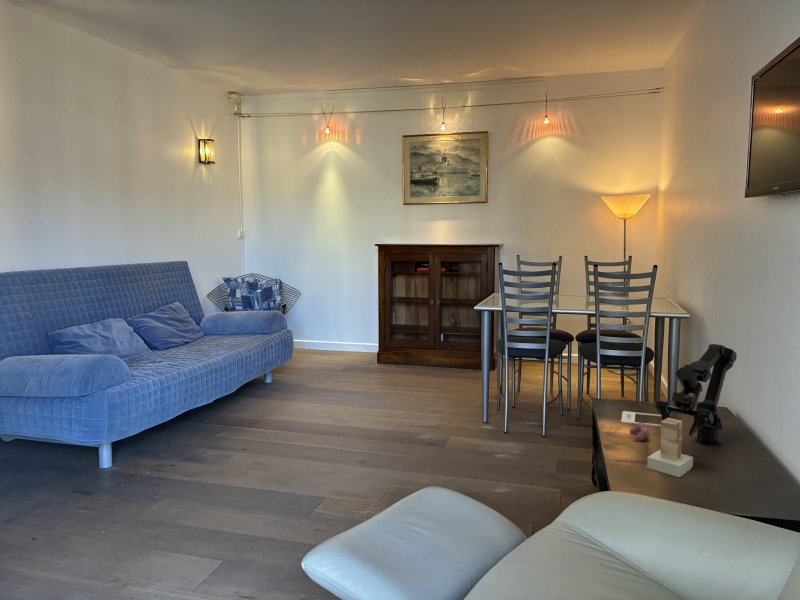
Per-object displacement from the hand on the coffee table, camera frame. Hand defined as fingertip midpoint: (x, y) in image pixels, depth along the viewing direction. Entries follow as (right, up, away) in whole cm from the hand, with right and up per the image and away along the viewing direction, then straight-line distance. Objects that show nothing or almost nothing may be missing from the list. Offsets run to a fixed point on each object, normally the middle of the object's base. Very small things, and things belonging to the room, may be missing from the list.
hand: (676, 432), depth 201 cm
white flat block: (-3, -12, -1) cm, 13 cm away
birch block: (-3, -8, -2) cm, 9 cm away
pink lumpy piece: (-1, -9, +28) cm, 29 cm away
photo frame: (+10, -6, +49) cm, 50 cm away
